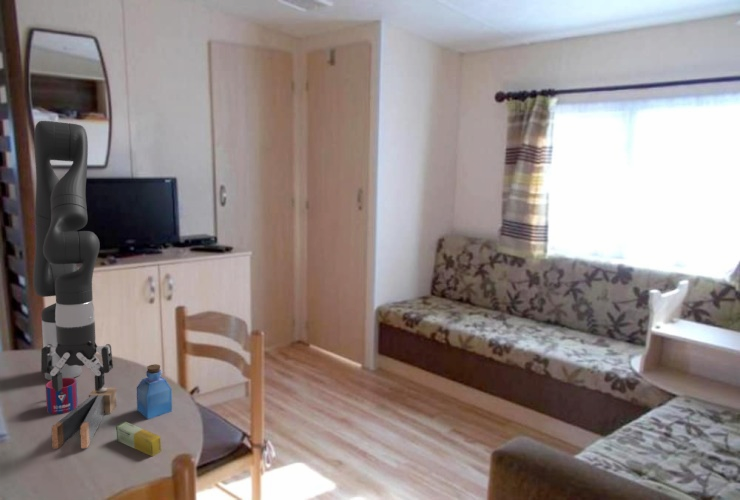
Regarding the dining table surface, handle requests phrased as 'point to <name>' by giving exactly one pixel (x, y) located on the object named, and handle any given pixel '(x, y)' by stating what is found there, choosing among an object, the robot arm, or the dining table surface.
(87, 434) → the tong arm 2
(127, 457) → the dining table surface
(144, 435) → the medication box
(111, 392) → the block
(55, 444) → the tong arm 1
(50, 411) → the mug
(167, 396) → the perfume bottle
